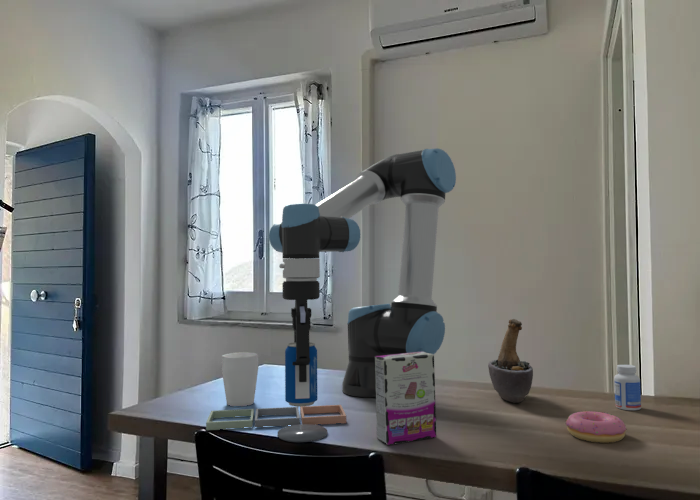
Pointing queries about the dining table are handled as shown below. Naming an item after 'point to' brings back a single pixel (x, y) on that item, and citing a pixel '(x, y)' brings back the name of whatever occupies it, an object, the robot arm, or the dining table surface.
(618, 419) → the doughnut
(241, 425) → the sage corral
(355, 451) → the dining table surface
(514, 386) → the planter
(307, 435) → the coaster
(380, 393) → the candy bar box
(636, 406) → the pill bottle
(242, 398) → the grey tapered cylinder
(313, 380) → the beverage can
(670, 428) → the dining table surface
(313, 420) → the terracotta corral
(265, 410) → the slate-grey corral
